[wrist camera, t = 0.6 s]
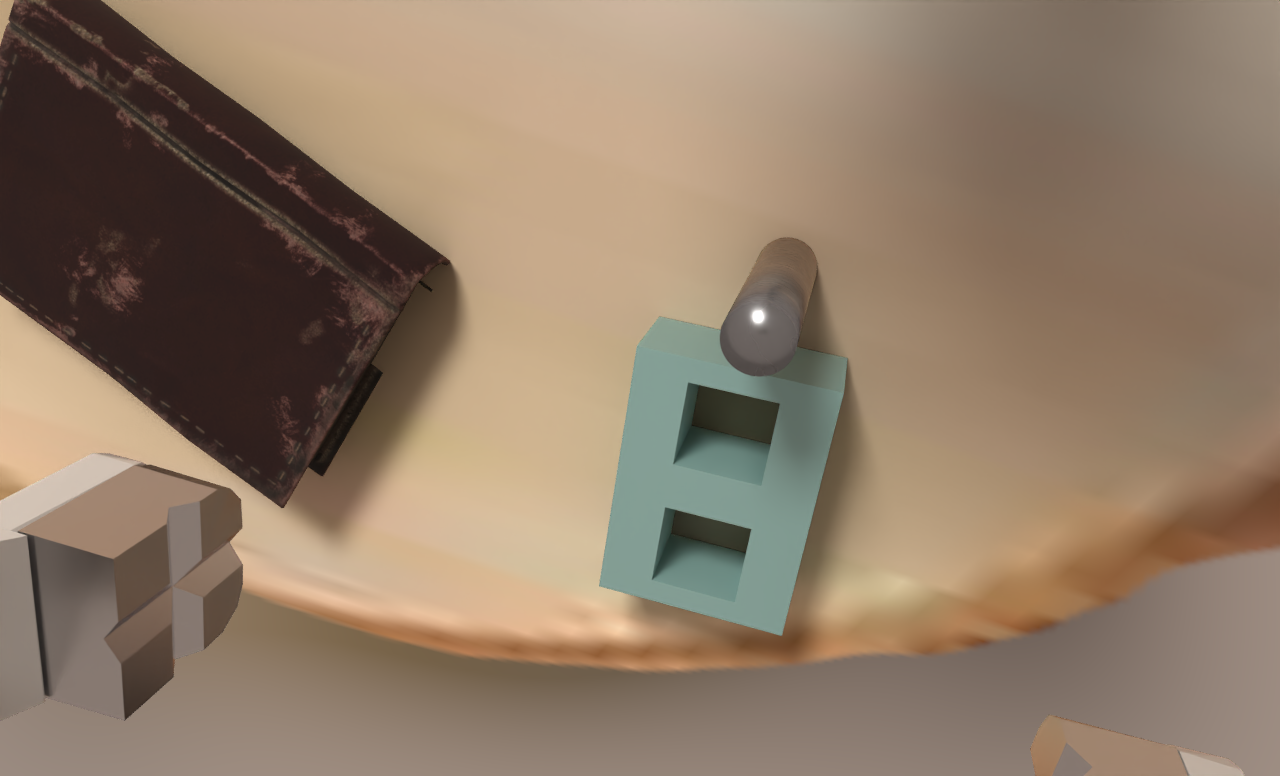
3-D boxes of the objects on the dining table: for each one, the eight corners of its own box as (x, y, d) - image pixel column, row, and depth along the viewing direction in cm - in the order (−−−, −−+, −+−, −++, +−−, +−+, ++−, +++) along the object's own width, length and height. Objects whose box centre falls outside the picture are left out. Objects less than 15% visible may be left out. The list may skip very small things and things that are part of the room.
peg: (763, 232, 47) (727, 295, 36) (823, 244, 46) (804, 311, 36) (751, 289, 48) (713, 367, 37) (810, 301, 48) (788, 384, 37)
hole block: (659, 316, 50) (637, 346, 45) (847, 358, 48) (843, 392, 44) (622, 539, 55) (599, 586, 51) (790, 584, 54) (781, 635, 49)
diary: (93, -23, 51) (16, -29, 47) (461, 251, 52) (421, 271, 47) (-1, 245, 59) (-74, 263, 54) (321, 482, 60) (275, 518, 55)
